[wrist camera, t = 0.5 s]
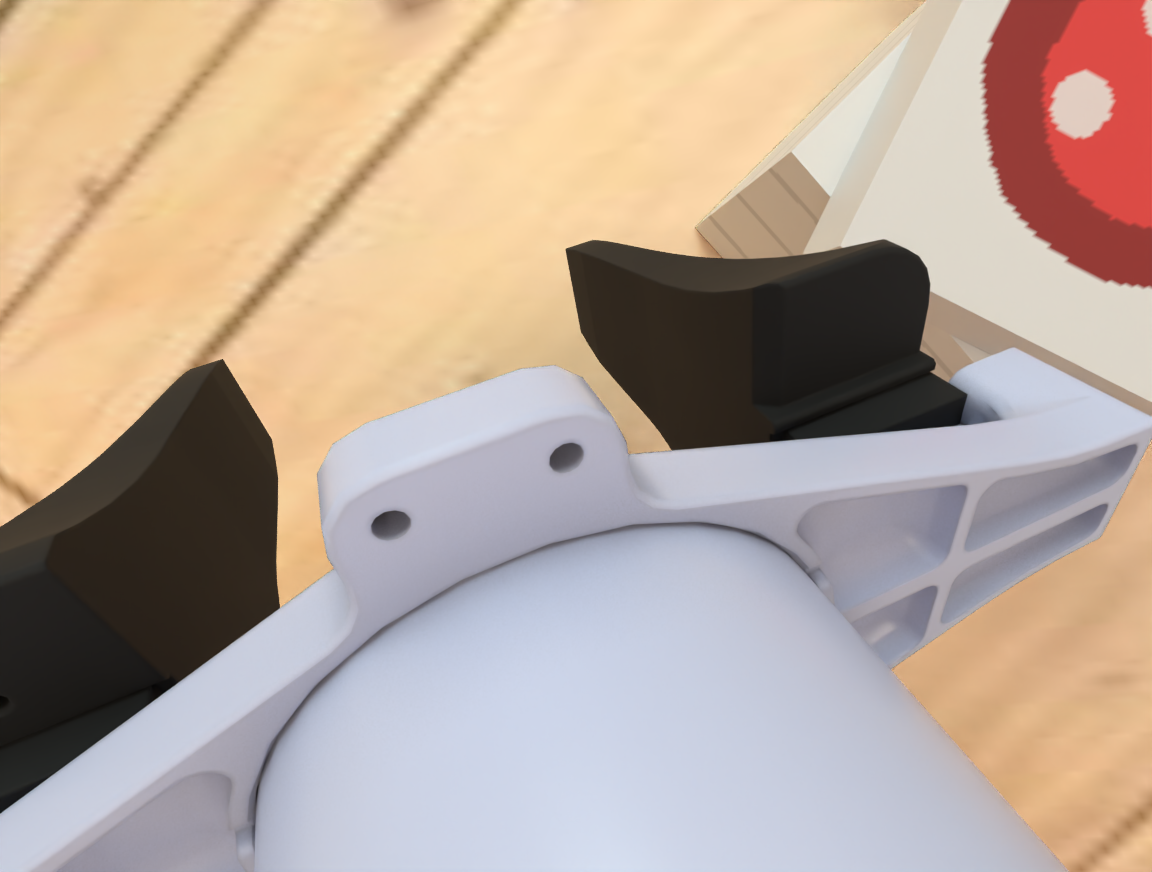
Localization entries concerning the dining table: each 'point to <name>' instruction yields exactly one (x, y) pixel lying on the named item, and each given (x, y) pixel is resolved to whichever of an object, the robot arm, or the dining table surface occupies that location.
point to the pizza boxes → (986, 181)
